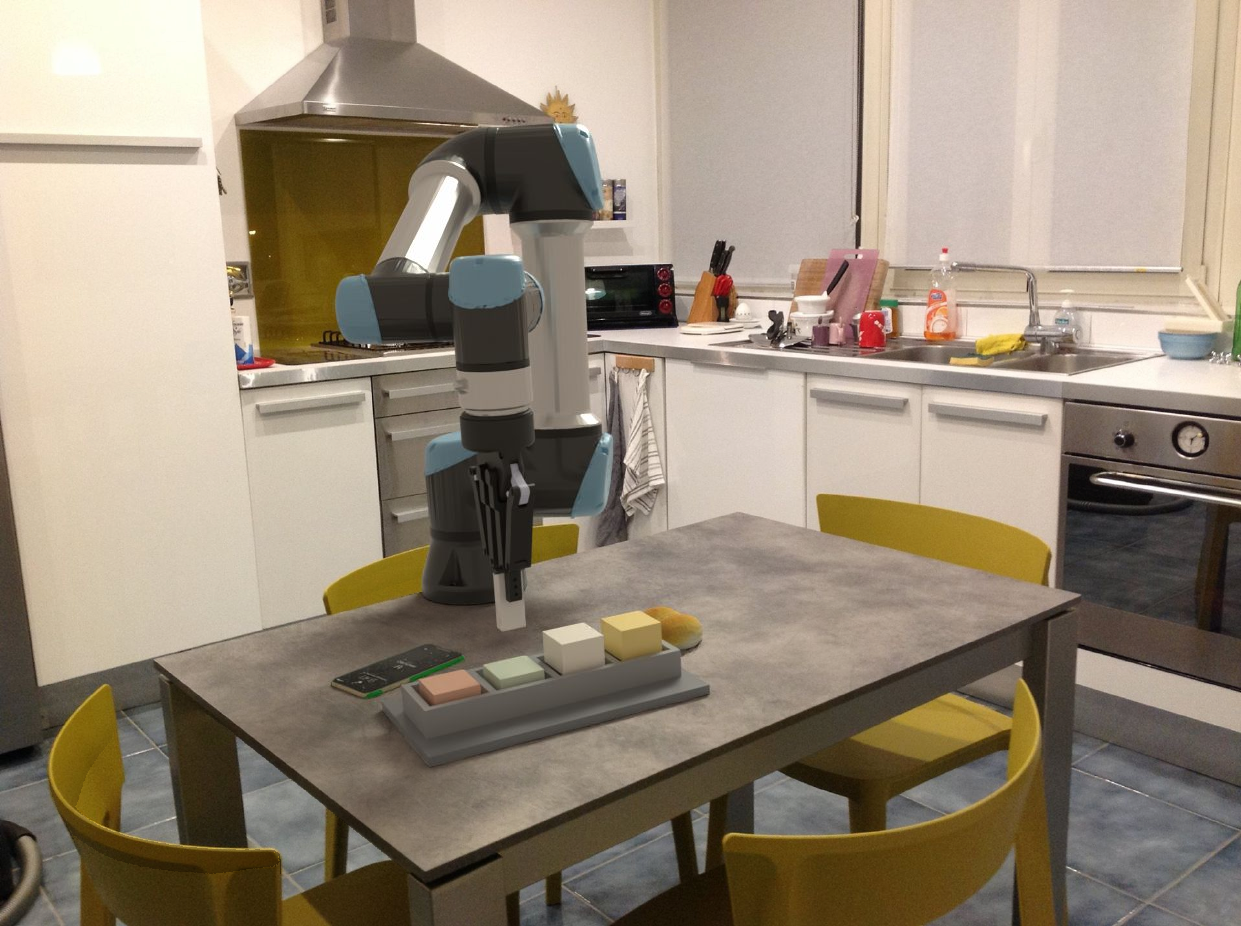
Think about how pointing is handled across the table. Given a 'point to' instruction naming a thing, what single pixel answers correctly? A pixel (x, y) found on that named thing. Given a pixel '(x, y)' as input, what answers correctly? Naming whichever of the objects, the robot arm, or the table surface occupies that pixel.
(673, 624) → the bread roll
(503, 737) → the grey compartment tray
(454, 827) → the table surface
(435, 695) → the key terracotta
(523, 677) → the key sage
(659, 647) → the key mustard
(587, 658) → the key ivory
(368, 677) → the smartphone
